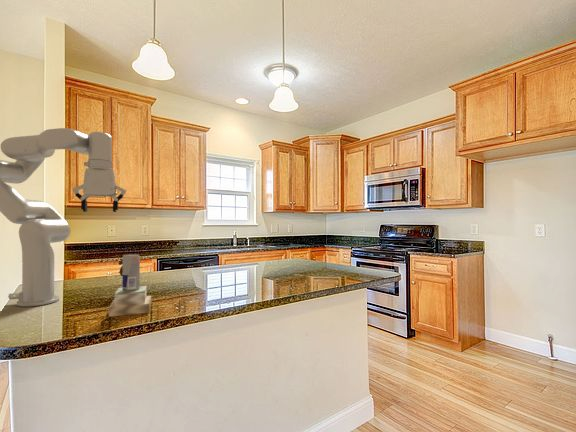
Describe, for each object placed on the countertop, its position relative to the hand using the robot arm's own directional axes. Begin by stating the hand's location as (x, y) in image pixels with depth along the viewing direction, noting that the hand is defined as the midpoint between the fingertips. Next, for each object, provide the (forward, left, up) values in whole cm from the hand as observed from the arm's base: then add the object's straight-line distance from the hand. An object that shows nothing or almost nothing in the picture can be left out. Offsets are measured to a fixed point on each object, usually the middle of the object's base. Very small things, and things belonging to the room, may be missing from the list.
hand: (100, 211), depth 117 cm
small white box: (+12, -13, -34) cm, 39 cm away
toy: (+8, +10, -34) cm, 37 cm away
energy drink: (+12, -13, -28) cm, 33 cm away
